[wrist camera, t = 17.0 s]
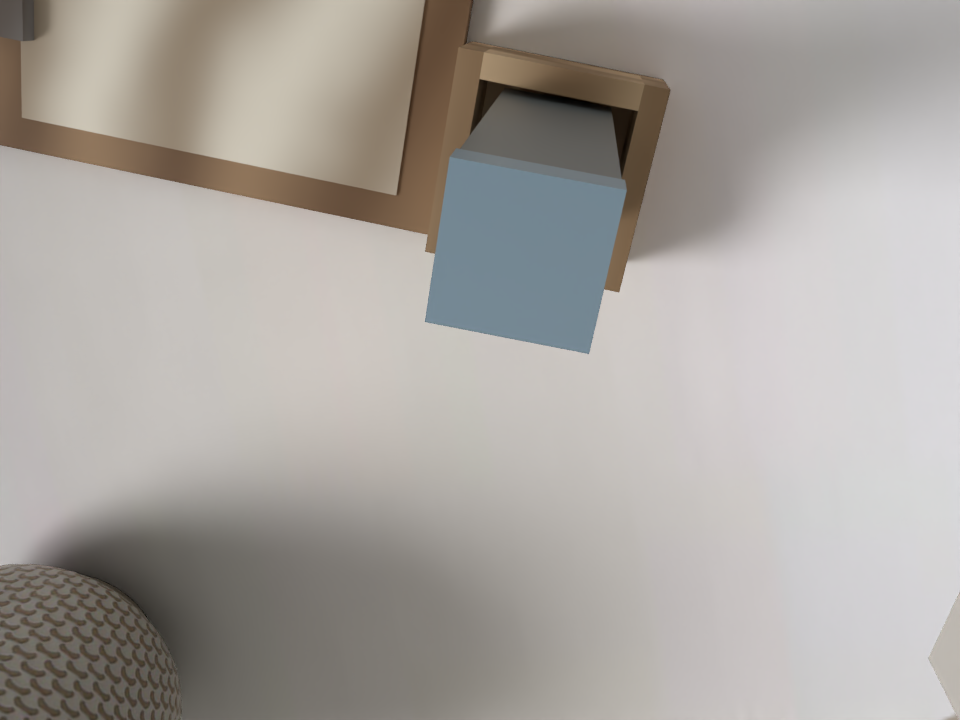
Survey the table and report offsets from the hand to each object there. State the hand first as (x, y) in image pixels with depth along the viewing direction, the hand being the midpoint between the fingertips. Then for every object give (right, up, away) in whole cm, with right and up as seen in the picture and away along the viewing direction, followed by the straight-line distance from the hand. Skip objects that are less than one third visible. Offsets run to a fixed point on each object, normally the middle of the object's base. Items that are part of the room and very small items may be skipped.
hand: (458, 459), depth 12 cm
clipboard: (-8, +14, +20) cm, 26 cm away
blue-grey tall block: (+3, +9, +20) cm, 22 cm away
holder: (+3, +8, +21) cm, 23 cm away
